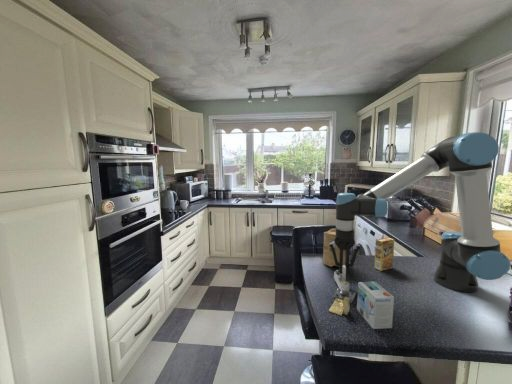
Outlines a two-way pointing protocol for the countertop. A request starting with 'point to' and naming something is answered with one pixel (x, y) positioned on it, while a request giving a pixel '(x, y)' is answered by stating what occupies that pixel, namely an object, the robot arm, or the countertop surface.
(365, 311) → the light bulb box
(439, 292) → the countertop surface
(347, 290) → the latch bar
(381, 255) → the candy box
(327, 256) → the container
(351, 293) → the plate
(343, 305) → the keeper
